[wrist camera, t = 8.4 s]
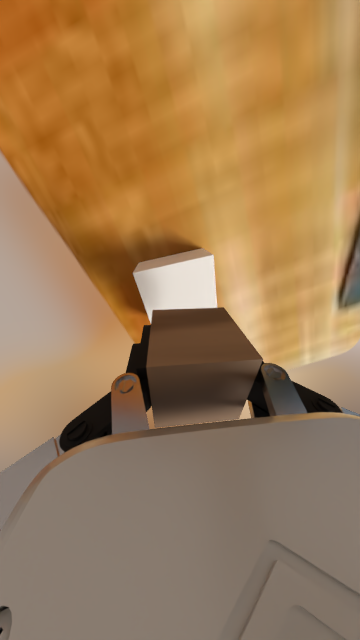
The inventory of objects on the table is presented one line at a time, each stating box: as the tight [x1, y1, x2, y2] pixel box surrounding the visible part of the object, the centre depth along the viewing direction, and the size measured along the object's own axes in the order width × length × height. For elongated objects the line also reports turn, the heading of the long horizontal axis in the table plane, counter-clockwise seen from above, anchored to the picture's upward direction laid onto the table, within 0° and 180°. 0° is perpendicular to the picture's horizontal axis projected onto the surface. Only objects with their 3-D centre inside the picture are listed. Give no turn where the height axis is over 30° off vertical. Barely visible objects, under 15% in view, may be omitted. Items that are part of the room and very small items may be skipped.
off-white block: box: [133, 248, 217, 323], centre depth 19 cm, size 8×8×5 cm
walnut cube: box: [146, 308, 263, 428], centre depth 10 cm, size 5×5×5 cm
